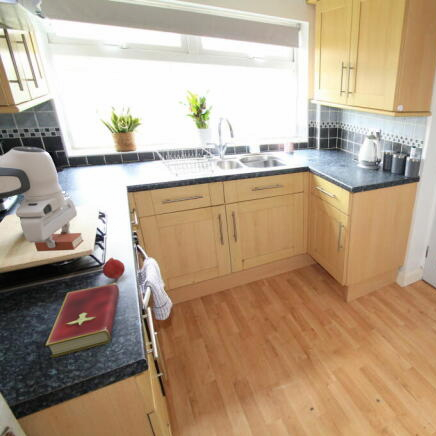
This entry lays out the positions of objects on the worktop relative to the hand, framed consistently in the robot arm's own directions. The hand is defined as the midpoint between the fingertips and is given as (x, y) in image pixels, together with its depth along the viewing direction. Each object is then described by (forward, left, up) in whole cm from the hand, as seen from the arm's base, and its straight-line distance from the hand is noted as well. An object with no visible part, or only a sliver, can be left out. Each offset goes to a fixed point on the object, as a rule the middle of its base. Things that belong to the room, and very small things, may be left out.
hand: (59, 241), depth 101 cm
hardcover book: (+18, -27, -12) cm, 34 cm away
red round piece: (+17, -7, -12) cm, 21 cm away
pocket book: (0, 0, -2) cm, 2 cm away
